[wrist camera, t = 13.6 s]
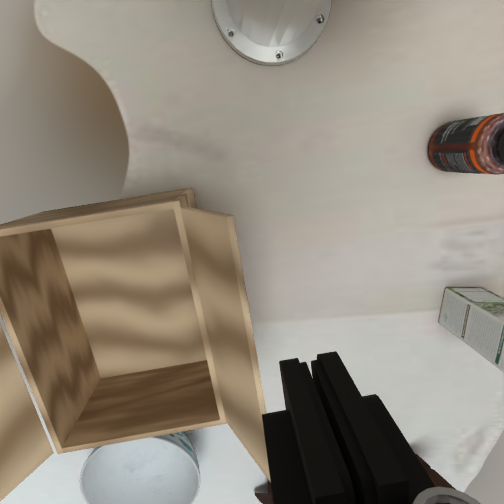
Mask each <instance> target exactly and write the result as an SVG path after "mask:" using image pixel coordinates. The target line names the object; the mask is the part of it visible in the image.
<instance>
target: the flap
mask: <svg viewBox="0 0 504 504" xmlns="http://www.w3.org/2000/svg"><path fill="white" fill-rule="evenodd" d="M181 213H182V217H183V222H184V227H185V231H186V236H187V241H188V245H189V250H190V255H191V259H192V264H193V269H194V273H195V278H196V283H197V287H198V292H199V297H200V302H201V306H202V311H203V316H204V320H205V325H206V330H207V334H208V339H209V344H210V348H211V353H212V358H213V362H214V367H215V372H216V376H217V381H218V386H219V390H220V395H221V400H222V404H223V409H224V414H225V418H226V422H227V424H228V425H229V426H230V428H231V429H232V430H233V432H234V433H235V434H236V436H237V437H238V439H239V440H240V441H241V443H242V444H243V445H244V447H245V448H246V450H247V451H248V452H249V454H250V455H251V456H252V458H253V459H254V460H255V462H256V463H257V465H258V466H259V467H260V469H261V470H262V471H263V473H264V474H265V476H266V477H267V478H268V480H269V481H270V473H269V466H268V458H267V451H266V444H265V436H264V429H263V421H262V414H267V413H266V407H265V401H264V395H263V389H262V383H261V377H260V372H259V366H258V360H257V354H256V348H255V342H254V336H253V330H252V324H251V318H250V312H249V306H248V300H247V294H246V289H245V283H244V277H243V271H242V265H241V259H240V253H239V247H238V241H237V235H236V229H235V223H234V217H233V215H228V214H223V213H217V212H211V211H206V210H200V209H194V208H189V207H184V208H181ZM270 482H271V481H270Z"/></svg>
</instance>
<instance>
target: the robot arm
mask: <svg viewBox="0 0 504 504" xmlns="http://www.w3.org/2000/svg"><path fill="white" fill-rule="evenodd" d="M211 2H212V8H213V14H214V17H215V20H216V23H217V26H218V28H219V30H220V32H221V34H222V36H223V38H224V39H225V40H226V41H227V43H228V44H229V45H230V47H231V48H232V49H234V50H235V51H236V52H237V53H238V54H239V55H241V56H242V57H244V58H246V59H247V60H249V61H252V62H254V63H257V64H261V65H269V66H273V65H282V64H285V63H288V62H291V61H293V60H295V59H297V58H299V57H300V56H302V55H303V54H304V53H305V52H307V51H308V50H309V49H310V48H311V47H312V46H313V44H314V43H315V42H316V41H317V39H318V38H319V36H320V35H321V33H322V32H323V30H324V28H325V25H326V23H327V21H328V17H329V13H330V9H331V3H332V0H211ZM316 20H319V21H320V24H319V23H317V21H316ZM230 32H231V33H233V36H232V37H230V36H229V33H230ZM276 55H280V59H277V58H276ZM279 364H280V371H281V378H282V385H283V392H284V399H285V406H286V410H284V411H278V412H272V413H267V414H262V421H263V429H264V436H265V444H266V451H267V458H268V466H269V473H270V481H271V488H272V495H273V503H274V504H480V503H479V502H478V501H477V500H475V499H474V498H472V497H470V496H469V495H467V494H465V493H463V492H460V491H458V490H455V489H452V488H446V487H435V485H434V483H433V482H432V480H431V479H430V477H429V475H428V474H427V472H426V471H425V469H424V468H423V466H422V464H421V463H420V461H419V460H418V458H417V456H416V455H415V453H414V452H413V450H412V448H411V447H410V445H409V444H408V442H407V441H406V439H405V437H404V436H403V434H402V433H401V431H400V429H399V428H398V426H397V425H396V423H395V422H394V420H393V418H392V417H391V415H390V414H389V412H388V410H387V409H386V407H385V406H384V404H383V402H382V401H381V399H380V398H379V397H378V396H377V395H376V394H374V395H368V396H363V397H362V396H361V394H360V392H359V391H358V389H357V387H356V385H355V384H354V382H353V380H352V378H351V376H350V375H349V373H348V371H347V369H346V367H345V366H344V364H343V362H342V360H341V359H340V357H339V355H338V353H337V352H336V351H335V352H329V353H323V354H318V355H317V360H314V361H311V368H312V376H311V373H310V371H309V368H308V366H307V363H306V362H302V363H299V360H298V358H295V359H289V360H283V361H279ZM312 377H313V379H312Z"/></svg>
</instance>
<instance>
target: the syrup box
mask: <svg viewBox="0 0 504 504" xmlns="http://www.w3.org/2000/svg"><path fill="white" fill-rule="evenodd" d="M439 323H440V324H441V325H442V326H444V327H445V328H446V329H448V330H449V331H450V332H452V333H453V334H454V335H456V336H457V337H458V338H459V339H461V340H462V341H463V342H465V343H466V344H467V345H469V346H470V347H471V348H473V349H474V350H475V351H477V352H478V353H479V354H481V355H482V356H483V357H484V358H486V359H487V360H488V361H490V362H491V363H492V364H493V365H495V366H496V367H497V368H499V369H500V370H501V371H503V372H504V298H502V297H500V296H498V295H496V294H494V293H492V292H490V291H488V290H486V289H484V288H446V289H445V293H444V297H443V302H442V307H441V312H440V318H439Z"/></svg>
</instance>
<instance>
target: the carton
mask: <svg viewBox="0 0 504 504" xmlns="http://www.w3.org/2000/svg"><path fill="white" fill-rule="evenodd" d="M184 207H189V208H194V209H197V206H196V201H195V196H194V191H193V188H189V189H182V190H176V191H170V192H164V193H157V194H151V195H145V196H138V197H132V198H126V199H120V200H113V201H107V202H101V203H95V204H88V205H82V206H77V207H69V208H64V209H57V210H51V211H44V212H41V213H37V214H34V215H31V216H27V217H24V218H21V219H18V220H14V221H11V222H8V223H4V224H1V225H0V314H1V316H2V319H3V322H4V324H5V327H6V329H7V332H8V334H9V336H10V339H11V341H12V344H13V346H14V349H15V351H16V353H17V356H18V358H19V361H20V363H21V366H22V368H23V371H24V373H25V375H26V378H27V380H28V383H29V385H30V388H31V390H32V392H33V395H34V397H35V400H36V402H37V405H38V407H39V410H40V412H41V414H42V417H43V419H44V422H45V424H46V427H47V429H48V432H49V434H50V436H51V439H52V441H53V444H54V446H55V449H56V451H57V453H58V454H60V453H66V452H71V451H77V450H82V449H88V448H94V447H99V446H105V445H110V444H116V443H121V442H127V441H132V440H138V439H143V438H149V437H155V436H160V435H166V434H171V433H177V432H182V431H188V430H193V429H199V428H205V427H210V426H216V425H221V424H227V422H226V418H225V414H224V409H223V404H222V400H221V395H220V390H219V386H218V381H217V376H216V372H215V367H214V362H213V358H212V353H211V348H210V344H209V339H208V334H207V330H206V325H205V320H204V316H203V311H202V306H201V302H200V297H199V292H198V287H197V283H196V278H195V273H194V269H193V264H192V259H191V255H190V250H189V245H188V241H187V236H186V231H185V227H184V222H183V217H182V213H181V208H184Z"/></svg>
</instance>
